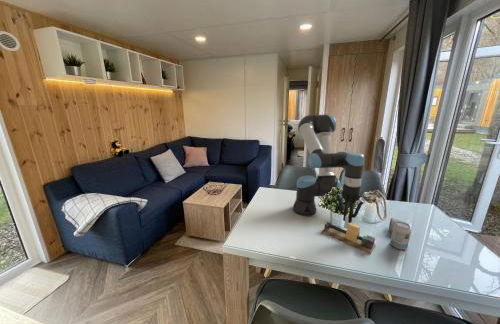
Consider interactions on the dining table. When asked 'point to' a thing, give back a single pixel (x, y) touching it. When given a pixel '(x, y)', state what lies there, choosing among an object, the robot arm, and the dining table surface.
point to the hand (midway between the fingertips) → (346, 227)
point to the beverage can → (400, 235)
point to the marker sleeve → (352, 232)
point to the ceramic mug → (393, 221)
